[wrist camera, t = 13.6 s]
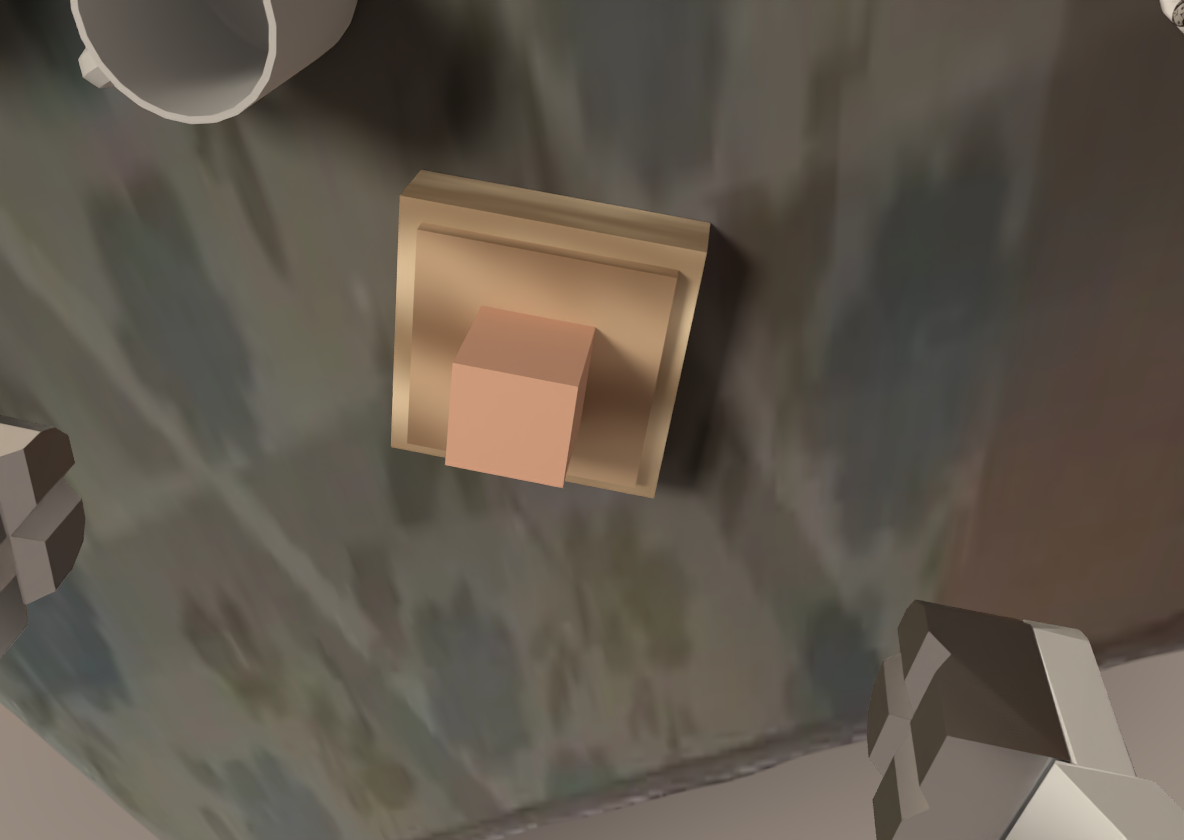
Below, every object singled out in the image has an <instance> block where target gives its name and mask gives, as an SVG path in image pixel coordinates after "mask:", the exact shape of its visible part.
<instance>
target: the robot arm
mask: <svg viewBox="0 0 1184 840" xmlns="http://www.w3.org/2000/svg"><path fill="white" fill-rule="evenodd" d="M74 463H75V461H74V457H73V453H72V449H71V445H70V441H69V437H68V435H67V434H65V433H64V432H62V431H60V430H58V429H57V428H55V427H51V426H47V425H42V424H38V423H33V422H29V421H24V420H20V419H15V418H11V417H6V416H2V415H0V658H1V657H2V656H3V655H4V654H5V652H6V651H7V650H8V649H9V647H10V646H11V645H12V644H13V643H14V641H15V640H16V639H17V638H18V636H19V635H20V634H21V633H22V632H23V630H24V629H25V628H26V627H27V625H28V617H27V607H26V604H28V603H30V602H33V601H35V600H37V599H39V598H41V597H43V596H46V595H48V594H50V593H52V592H54V591H56V590H57V588H58V587H59V586H60V584H61V583H62V582H63V581H64V579H65V578H66V577H67V575H68V574H69V573H70V571H71V570H72V569H73V566H74V564H75V561H76V559H77V556H78V554H79V551H80V549H81V546H82V543H83V540H84V528H85V514H84V508H83V502H82V498H81V497H80V496H79V495H78V494H77V493H76V492H75V490H74V489H73V488H72V487H71V486H70V485H69V484H68V483H67V481H66V480H65V479H64V478H63V477H64V476H65V474H66V473H67V472H68V471H69V470H70V468H71V467H72V466H73V465H74ZM898 636H899V644H900V652H899V653H897V654H895V655H893V656H891V657H890V658H888V659H886V660H884V661H883V663H882V665H881V668H880V670H879V673H878V675H877V678H876V680H875V683H874V685H873V690H872V695H871V700H870V705H869V710H868V722H867V742H868V754H869V759H870V761H871V762H872V763H873V764H874V766H875V767H876V768H877V770H878V771H879V772H880V774H881V775H882V776H883V779H882V781H881V783H880V785H879V788H878V790H877V792H876V794H875V796H874V798H873V807H874V818H875V827H876V838H877V840H1184V810H1183V809H1182V808H1181V807H1180V806H1179V805H1178V804H1177V803H1175V801H1173V800H1172V798H1171V797H1170V796H1169V795H1168V794H1166V792H1164V790H1162V789H1161V788H1160V787H1159V786H1158V785H1157V784H1156V783H1155V782H1154V781H1150V780H1145V779H1141V778H1137V776H1136V773H1135V770H1134V767H1133V764H1132V762H1131V759H1130V756H1129V753H1128V750H1127V747H1126V745H1125V742H1124V739H1123V736H1122V733H1121V730H1120V728H1119V725H1118V722H1117V719H1116V716H1115V713H1114V711H1113V708H1112V705H1111V702H1110V699H1109V697H1108V694H1107V691H1106V688H1105V685H1104V682H1103V679H1102V677H1101V674H1100V671H1099V668H1098V665H1097V663H1096V660H1095V657H1094V654H1093V651H1092V648H1091V646H1090V643H1089V640H1088V638H1087V637H1086V636H1085V635H1084V634H1083V633H1082V632H1081V631H1080V630H1079V629H1073V628H1068V627H1062V626H1057V625H1051V624H1046V623H1040V622H1035V621H1029V620H1023V621H1021V620H1018V619H1014V618H1009V617H1003V616H998V615H993V614H988V613H983V612H977V611H972V610H967V609H962V608H957V607H952V606H946V605H941V604H936V603H931V602H926V601H920V600H914V601H913V602H912V604H911V605H910V606H909V607H908V608H907V609H906V611H905V613H904V616H903V618H902V620H901V622H900V624H899V626H898Z"/></svg>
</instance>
